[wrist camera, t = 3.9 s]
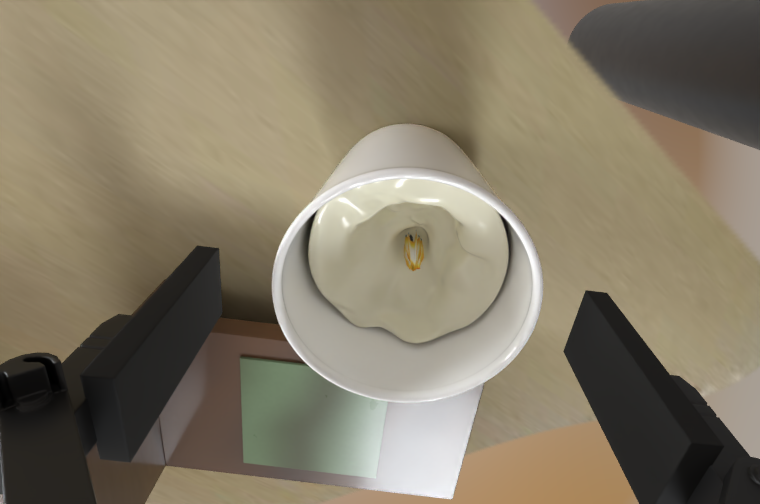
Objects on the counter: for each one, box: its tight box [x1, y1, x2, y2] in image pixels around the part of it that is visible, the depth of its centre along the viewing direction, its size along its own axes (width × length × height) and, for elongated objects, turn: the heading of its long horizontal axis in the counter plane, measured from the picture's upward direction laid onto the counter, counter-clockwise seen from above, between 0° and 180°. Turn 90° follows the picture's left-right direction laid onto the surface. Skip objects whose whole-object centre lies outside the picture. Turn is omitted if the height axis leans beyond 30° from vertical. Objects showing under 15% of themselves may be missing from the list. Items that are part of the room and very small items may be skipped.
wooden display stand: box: [86, 279, 485, 504], centre depth 28 cm, size 21×12×12 cm, turn 84°
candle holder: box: [272, 124, 543, 403], centre depth 22 cm, size 10×10×12 cm
